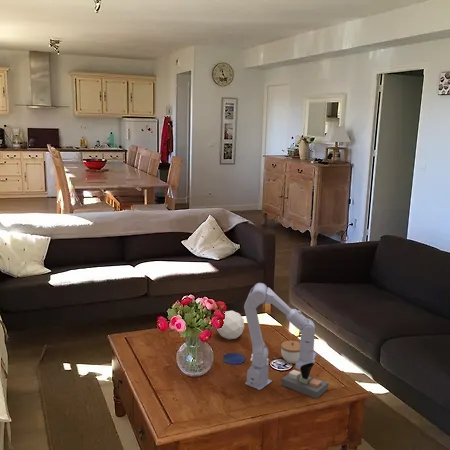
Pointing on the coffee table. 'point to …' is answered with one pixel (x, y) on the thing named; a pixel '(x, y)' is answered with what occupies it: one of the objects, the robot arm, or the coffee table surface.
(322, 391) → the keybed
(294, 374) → the ivory key
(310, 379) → the sage key
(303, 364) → the robot arm
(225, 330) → the geometric shape
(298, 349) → the lidded jar
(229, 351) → the coffee table surface
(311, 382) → the pink block
